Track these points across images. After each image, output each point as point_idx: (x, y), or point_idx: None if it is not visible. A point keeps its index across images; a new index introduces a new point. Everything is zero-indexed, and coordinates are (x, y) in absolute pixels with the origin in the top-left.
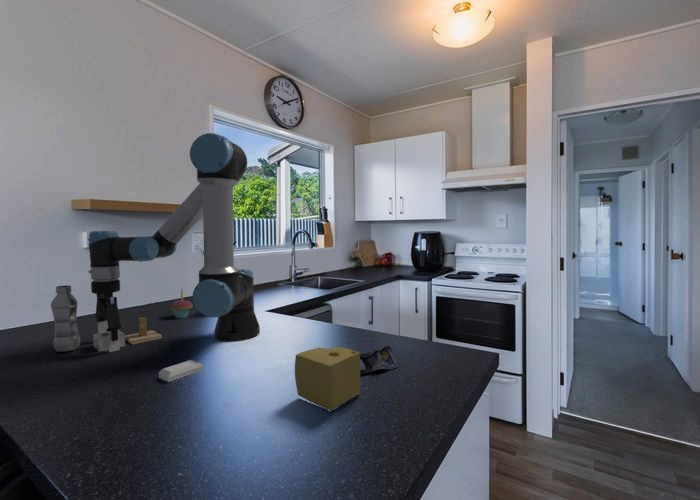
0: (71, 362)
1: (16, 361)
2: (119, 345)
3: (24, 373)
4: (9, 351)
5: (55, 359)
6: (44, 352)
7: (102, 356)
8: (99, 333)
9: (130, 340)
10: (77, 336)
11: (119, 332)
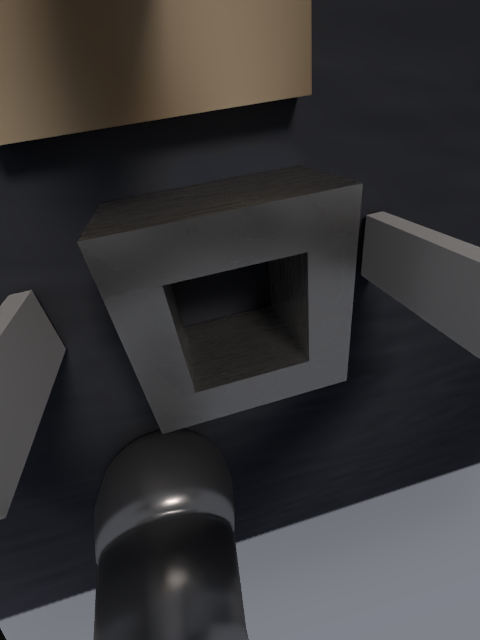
0: (376, 399)
1: None
2: (405, 221)
3: (368, 479)
4: (37, 602)
5: (283, 454)
6: None
7: None
8: (167, 398)
9: (253, 103)
10: (201, 496)
11: (258, 234)
